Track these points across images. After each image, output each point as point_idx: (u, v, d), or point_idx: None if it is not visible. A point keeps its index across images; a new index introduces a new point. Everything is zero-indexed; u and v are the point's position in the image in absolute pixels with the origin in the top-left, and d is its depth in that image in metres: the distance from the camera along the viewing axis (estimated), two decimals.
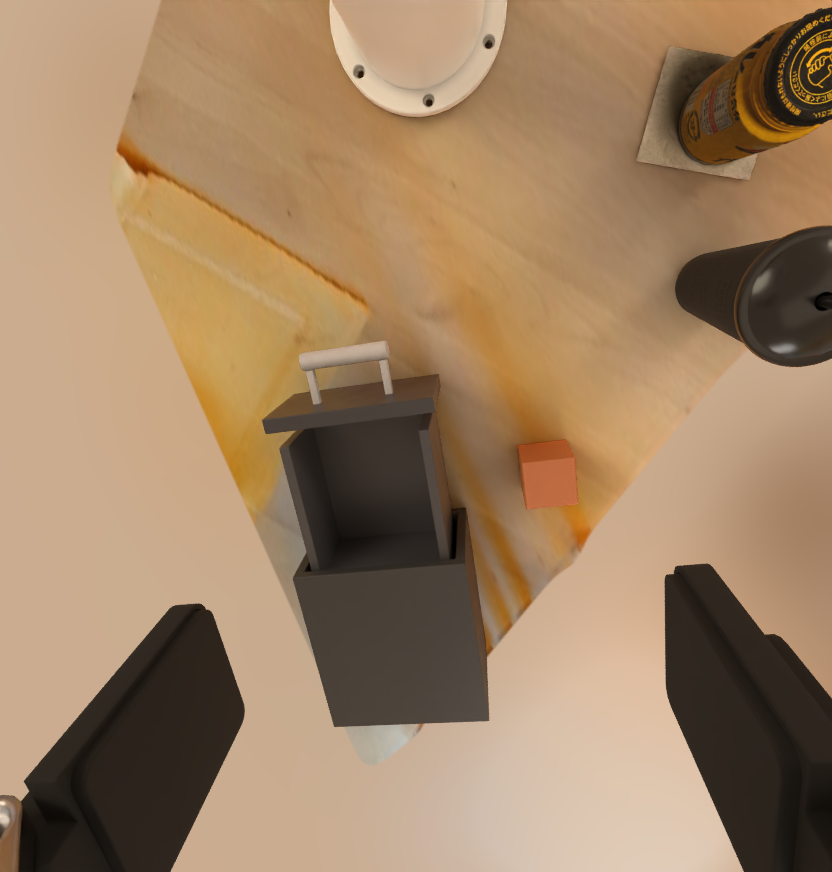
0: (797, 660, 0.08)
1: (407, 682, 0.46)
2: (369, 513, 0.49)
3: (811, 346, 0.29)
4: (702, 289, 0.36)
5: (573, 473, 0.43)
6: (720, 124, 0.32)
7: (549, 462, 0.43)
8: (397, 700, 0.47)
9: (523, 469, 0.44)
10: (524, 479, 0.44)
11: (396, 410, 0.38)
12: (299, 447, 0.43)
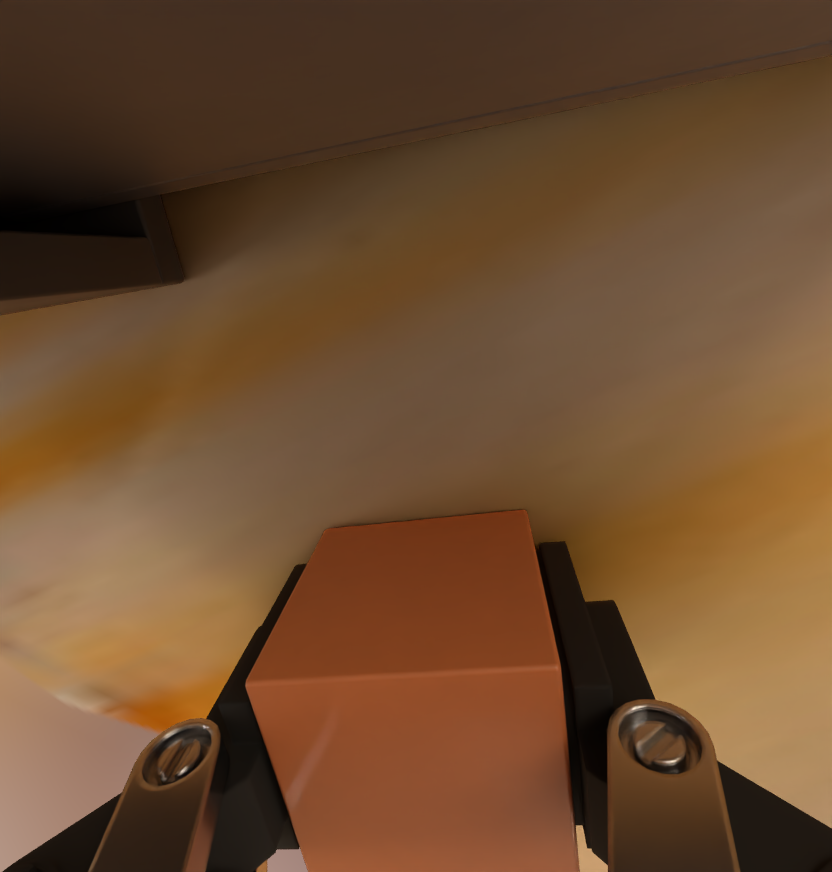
0: (620, 620, 0.09)
1: None
2: None
3: None
4: None
5: None
6: None
7: (558, 794, 0.07)
8: None
9: (514, 674, 0.07)
10: (444, 678, 0.07)
11: None
12: None
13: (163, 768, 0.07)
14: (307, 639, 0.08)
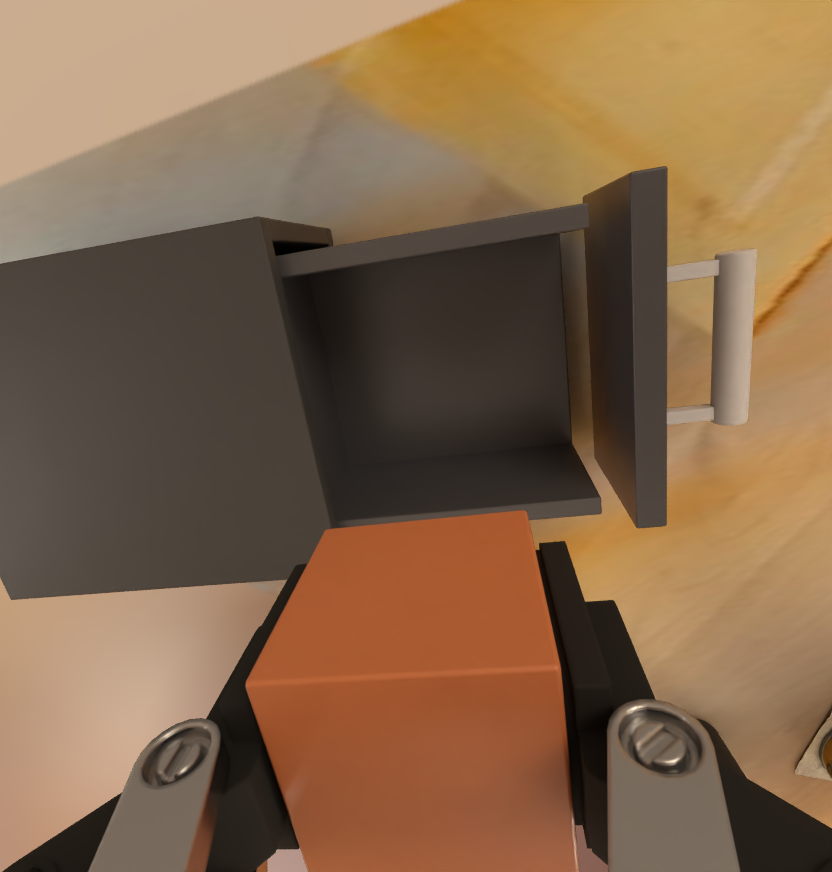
0: (620, 619, 0.09)
1: (47, 461, 0.22)
2: (369, 336, 0.26)
3: None
4: None
5: None
6: None
7: (557, 795, 0.07)
8: None
9: (514, 675, 0.07)
10: (444, 679, 0.07)
11: (650, 464, 0.20)
12: None
13: (163, 768, 0.07)
14: (307, 640, 0.08)
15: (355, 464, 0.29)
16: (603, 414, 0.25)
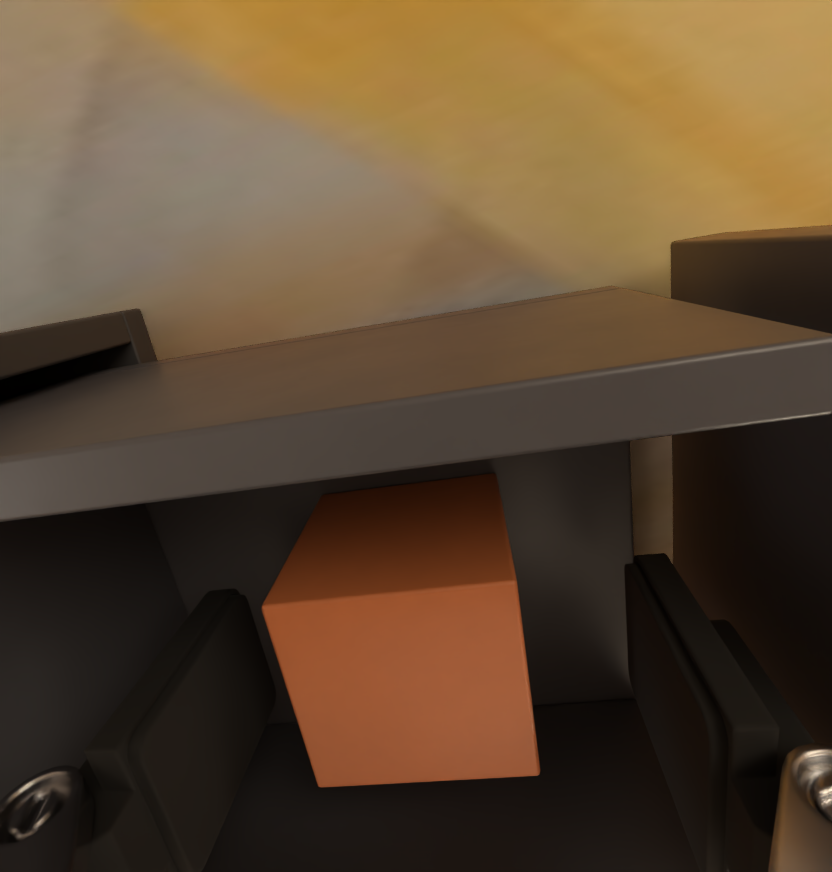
0: (742, 642, 0.08)
1: None
2: (242, 518, 0.13)
3: None
4: None
5: (462, 773, 0.10)
6: None
7: (518, 692, 0.09)
8: None
9: (480, 589, 0.08)
10: (424, 595, 0.09)
11: None
12: None
13: (15, 823, 0.07)
14: (311, 574, 0.10)
15: None
16: None
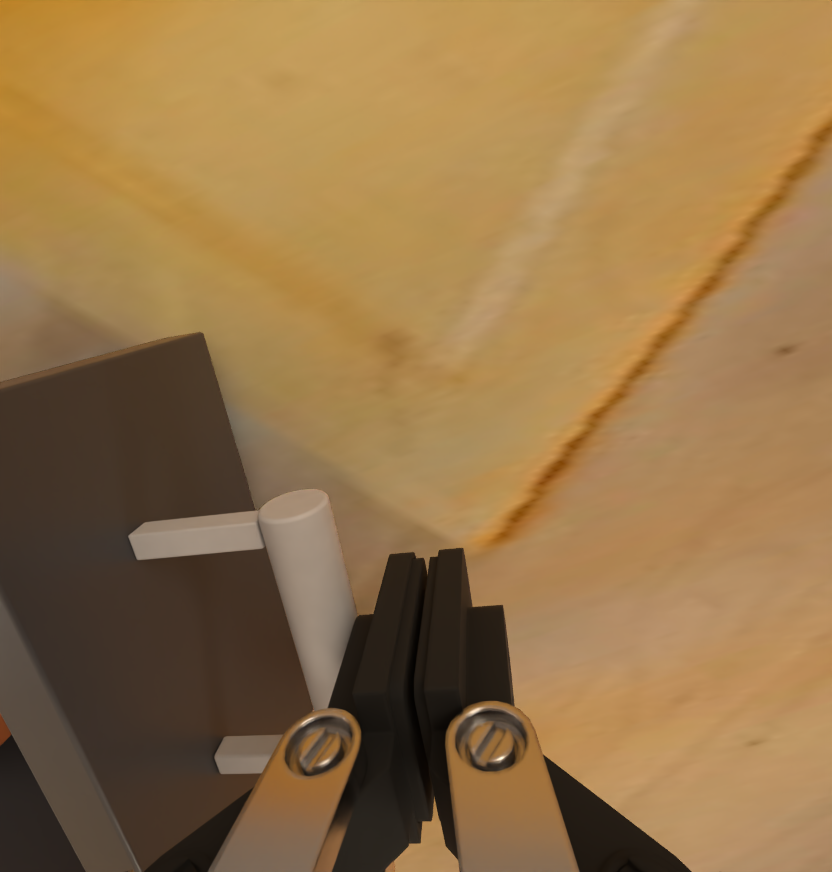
0: (502, 624, 0.10)
1: None
2: None
3: None
4: None
5: None
6: None
7: None
8: None
9: None
10: None
11: None
12: None
13: (306, 758, 0.07)
14: None
15: None
16: None
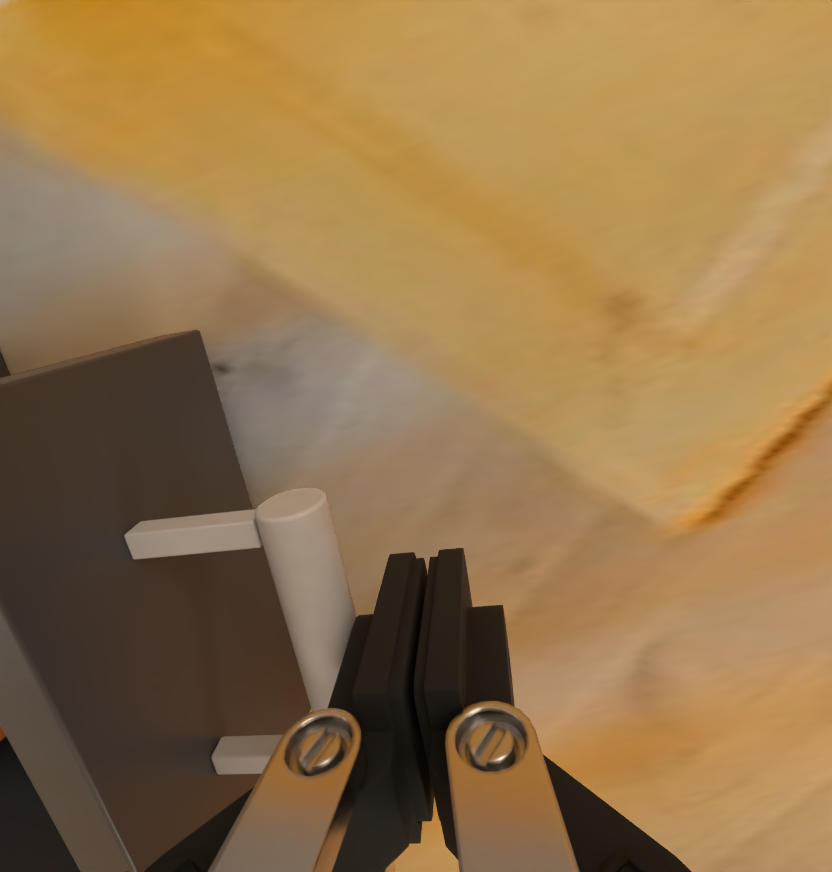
0: (502, 624, 0.10)
1: None
2: None
3: None
4: None
5: None
6: None
7: None
8: None
9: None
10: None
11: None
12: None
13: (306, 758, 0.07)
14: None
15: None
16: None
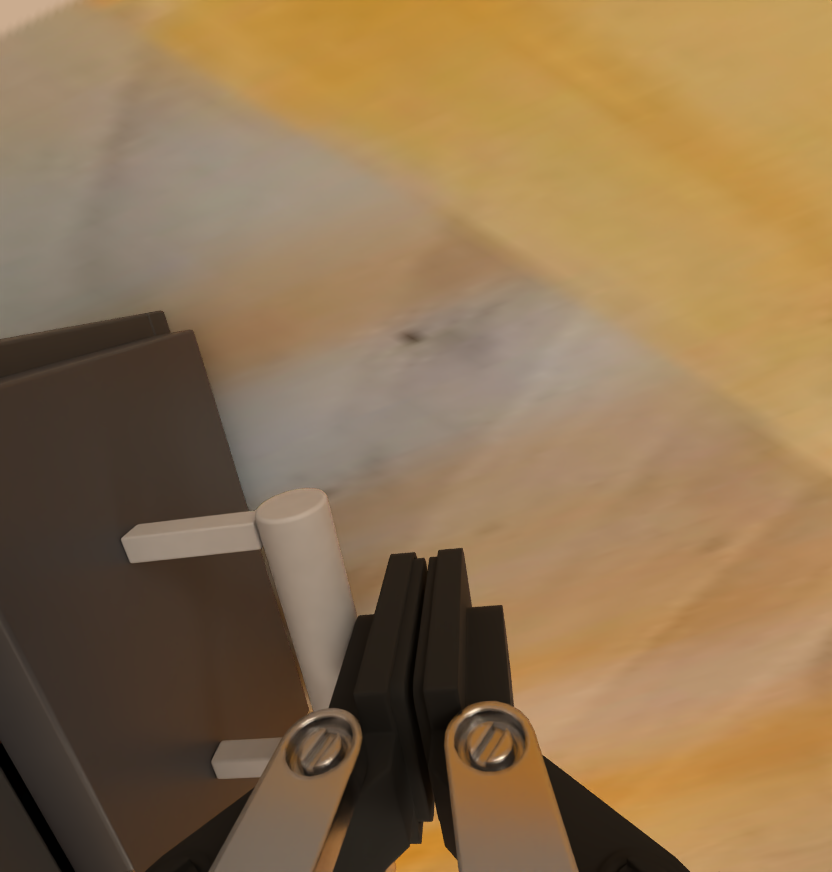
0: (502, 624, 0.10)
1: None
2: None
3: None
4: None
5: None
6: None
7: None
8: None
9: None
10: None
11: None
12: None
13: (307, 758, 0.07)
14: None
15: None
16: None
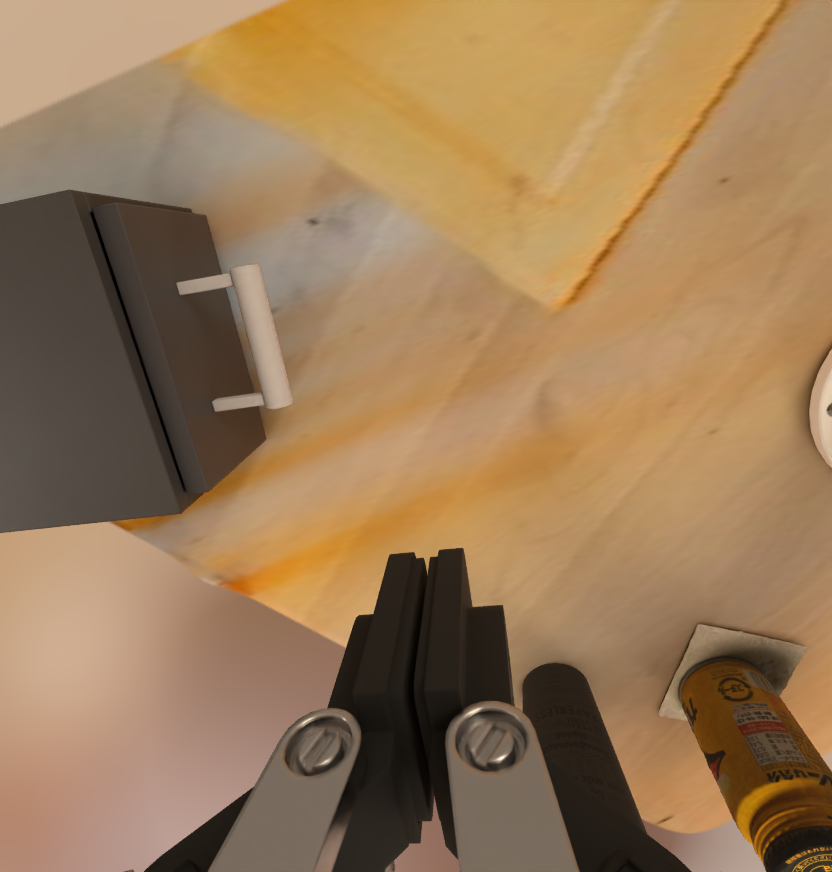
0: (502, 624, 0.10)
1: None
2: None
3: None
4: (577, 736, 0.31)
5: None
6: (753, 743, 0.30)
7: None
8: None
9: None
10: None
11: (179, 440, 0.25)
12: None
13: (306, 758, 0.07)
14: None
15: None
16: None
